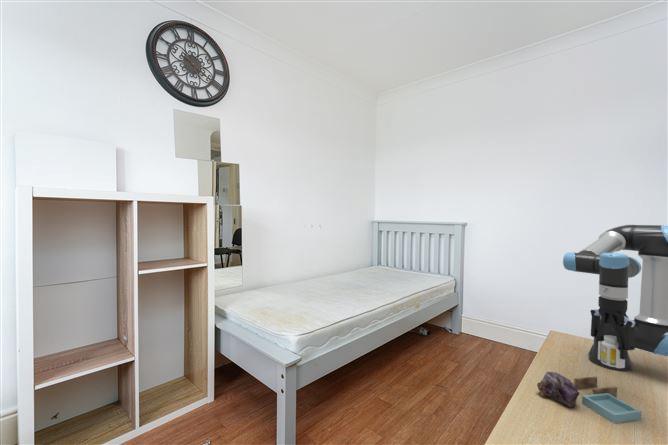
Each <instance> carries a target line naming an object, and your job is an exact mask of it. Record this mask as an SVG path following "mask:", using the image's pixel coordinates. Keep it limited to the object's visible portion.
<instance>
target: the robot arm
mask: <svg viewBox="0 0 668 445" xmlns="http://www.w3.org/2000/svg"><path fill="white" fill-rule="evenodd" d="M620 251H635V252H637V256H638V257H639V258H640V259H642V263H640V261H639V260H637V259H636V258H634V257H631V256H629V255H628V254H625V253H617V252H620ZM615 252H616V253H615ZM562 264H563V268H564V269H565V270H567V271H571V272H575V273H583V274H584V273H585V274H591V275H592V274H593V275H594V274H595V275H598V295H599V296H598V303H597V304H598V307H599V308H598V309H590V316H591V320H590V336H591V337H593V343H592V346H591V347H590V349H589V352H588V357H587V358H588V360H589V361H590V362H592V363H593V364H595V365H597V366H599V367H602V368H605V369H609V370H614V371H619V372H620V371H621V372H628V371H632V370H633V362H632V359H631V357H630V353H629V351H634V350H635V349H637V350H640V351H644V352H648V353H652V354H654V355H659V356H663V357H668V225H664V224H661V225H659V224H658V225H657V224H656V225H655V224H653V225H652V224H650V225H649V224H624V225H619V226H617V227H612V228H609V229H608V230H605V231H604V232H602V233H601V234H600V235H599V236H598V239H596V240H595V241H593V242H592V243H590V244H589V245H588V246H586V247H585V248H583V249H582V250H580V251H579V252H574V251H573V252H569V251H568V252H565V254H564V255H563V259H562ZM640 272H641V284H640V299H639V313H638V314H637V315H635V316H634V317H633V320H632V319H630V318H629V315H627V312H628V304H629V303H628V300H627V299H628V298H629V279H630V278H634V277H636V276H637V275H638V274H640ZM604 335H612V336H616V338H617V342H618V346H619V348H616V367H611V366H608V365H605V364H603V363H602V362H601V342H602V341H604Z"/></svg>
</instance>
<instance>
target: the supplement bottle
mask: <svg viewBox="0 0 668 445" xmlns="http://www.w3.org/2000/svg"><path fill="white" fill-rule="evenodd" d="M616 348H619V346H618V342H617V338H616V336H612V335H604V341H602V342H601V362H602V363H603V364H605V365H608V366H611V367H616Z"/></svg>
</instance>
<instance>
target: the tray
mask: <svg viewBox="0 0 668 445" xmlns="http://www.w3.org/2000/svg"><path fill="white" fill-rule="evenodd" d="M581 403H582V405H585V407H588V409H591V410H592V411H594V412H595V413H597V414H599V415H600V416H602V417H604V418H605V419H606V420H608V421H610V422H611V423H613V424H620V423H627V422H633V421H634V422H635V421H641V420H642V411H641V410H639V409H638V408H636V407H634V406H632V405H631V404H629V403H627V402H625V401H623V400H621V399H619V398H618V397H617V398H616V397H614V396H612V395H611V394H609V393H601V394H593V393H592V394H587V395H582V396H581Z"/></svg>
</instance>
